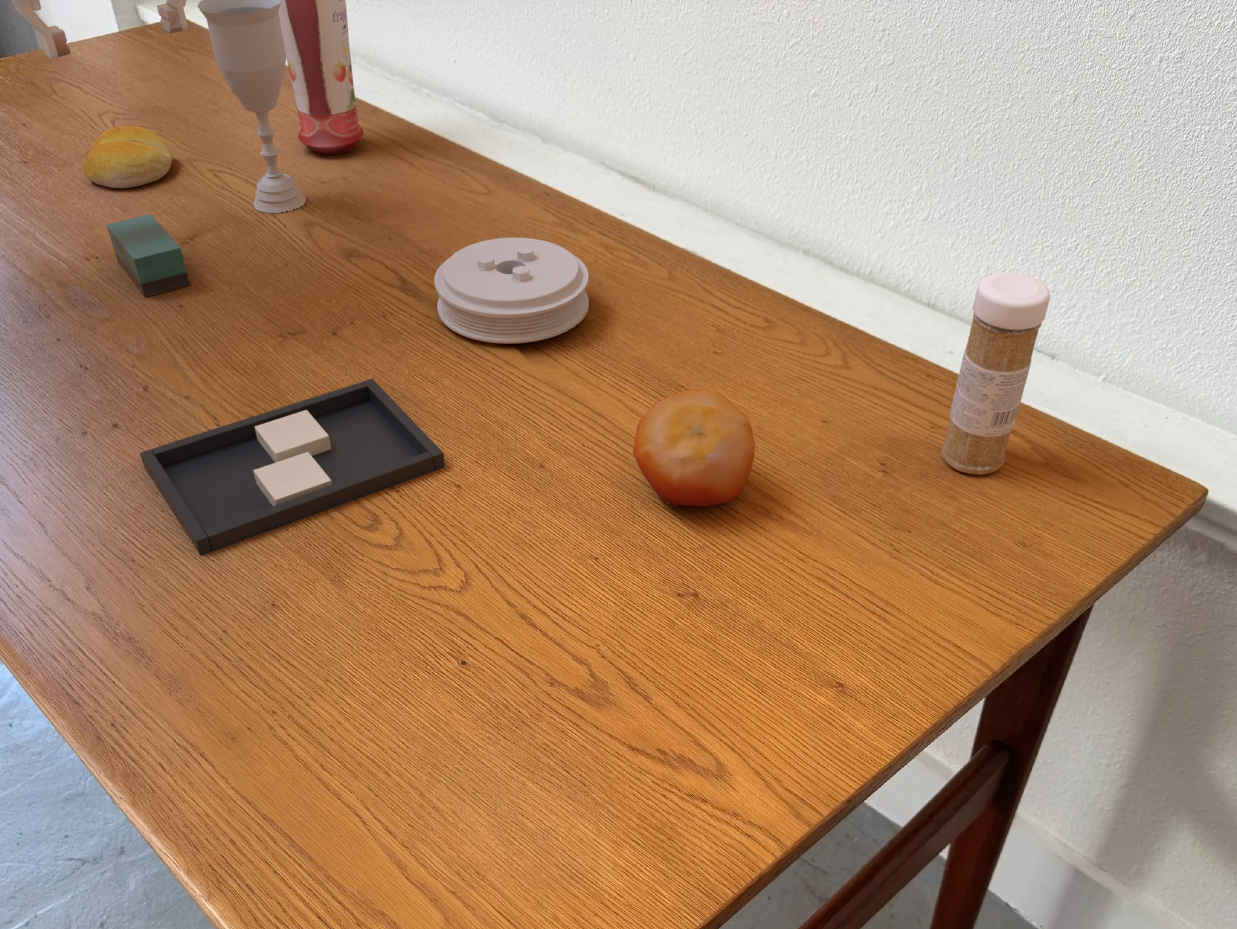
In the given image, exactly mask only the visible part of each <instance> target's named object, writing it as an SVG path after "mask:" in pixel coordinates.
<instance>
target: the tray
mask: <svg viewBox="0 0 1237 929" xmlns="http://www.w3.org/2000/svg"><path fill="white" fill-rule="evenodd" d="M304 410H307V411H308V412H309V413H310V414H311V415H312V417H313V418H314V419H315V420H316V421H317V422H318V424H319V425H320V426H321V427H322V428H323V430H324V431H325V432H326V433H327V434H328V435H329V439H330V444H331V450H328V451H325V452H322V453H319V454H316V455H313V456H312V457H313V458H314V460H315V461H316V462H317V463H318V465H319V466H320V467H321V468H322V470H323V471H324V472H325V473H326V474H327V476H328V477H329V478H330V479H331V481H332V486H329V487H326V488H323V489H320V490H318V491H315V492H312V493H309V494H306V495H303V496H301V497H298V498H295V499H292V500H289V501H287V502H284V503H281V504H278V505H275V506H272V504H271V503H270V502H269V500H268V499H267V498H266V496H265V495H264V493H263V492H262V491H261V489H260V488H259V487H258V485H257V484H256V480H255V476H254V472H253V470H256V469H258V468H261V467H264V466H267V465H270V464H273V463H275V462H274V461H273V459H272V458H271V457H270V455H269V454H268V453H267V452H266V450H265V449H264V448H263V446H262V445H261V444H260V442H259V441H258V439H257V435H256V431H255V426H258V425H261V424H264V423H267V422H270V421H273V420H277V419H280V418H283V417H286V416H289V415H292V414H295V413H298V412H301V411H304ZM139 455H140V458H141V461H142V464H143V467H144V469H145V471H146V472H147V474H148V476H149V477H150V478H151V480H152V482H153V483H154V485H155V486H156V488H157V490H158V491H159V493H160V495H161V496H162V498H163V499H164V501H165V502H166V504H167V505H168V507H169V509H170V510H171V512H172V513H173V515H174V517H175V518H176V520H177V522H178V523H179V524H180V526H181V528H182V529H183V531H184V532H185V534H186V536H187V537H188V539H189V541H190V542H191V543H192V545H193V547H194V548H195V550H196V551H197V553H198V555H199V556H200V557H202V556H205V555H207V554H211V553H214V552H216V551H219V550H222V549H225V548H226V547H230V546H232V545H235V544H239V543H241V542H244V541H247V540H249V539H252V538H254V537H257V536H259V535H263V534H265V533H269V532H271V531H274V530H277V529H280V528H282V527H285V526H288V525H290V524H294V523H295V522H299V521H302V520H305V519H307V518H310V517H313V516H315V515H318V514H321V513H324V512H327V511H329V510H332V509H334V508H337V507H340V506H343V505H345V504H348V503H352V502H353V501H356V500H359V499H363V498H365V497H367V496H370V495H373V494H377V493H378V492H382V491H385V490H387V489H390V488H392V487H395V486H398V485H401V484H403V483H407V482H409V481H412V480H414V479H415V480H416V479H418V478H421V477H423V476H426V475H428V474H431V473H435V472H436V471H439V470H442V469H445V468H446V464H445V456H444V452H443V451H442V450H441V449H440V448H439V447H438V445H437V444H436V443H435V442H434V441H433V440H432V439H431V438H430V437H429V436H428V435H427V434H426V433H425V432H424V431H423V430H422V429H421V428H420V427H419V426H418V424H417V423H416V422H415V421H414V420H413V419H411V417H410V416H409V415H408V414H407V413H406V412H405V411H404V410H403V409H402V407H400V406H399V405H398V404H397V403H396V402H395V401H394V400H393V398H392V397H391V396H390V395H389V394H388V393H386V391H385V390H384V389H383V388H382V386H380V385H379V384H378V383H377V382H376V381H375V380H374V379H373V378H369V379H366V380H363V381H360V382H357V383H354V384H351V385H347V386H344V387H342V388H338V389H335V390H332V391H328V392H325V393H322V394H319V395H316V396H313V397H309V398H307V399H304V400H301V401H298V402H297V401H296V402H294V403H291V404H288V405H285V406H281V407H279V408H276V409H272V410H268V411H266V412H263V413H258V414H256V415H253V416H250V417H246V418H244V419H240V420H237V421H233V422H232V423H228V424H225V425H222V426H218V427H215V428H213V429H209V430H206V431H204V432H200V433H196V434H194V435H190V436H187V437H183V438H181V439H178V440H175V441H172V442H168V443H165V444H162V445H159V446H156V447H153V448H151V449H147V450H143V451H140V453H139Z"/></svg>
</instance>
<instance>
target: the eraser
mask: <svg viewBox="0 0 1237 929" xmlns="http://www.w3.org/2000/svg"><path fill="white" fill-rule="evenodd" d="M106 228H107V233H108V235H109V238H110V242H111V244H112V249H113V252H114V254H115V258H116V262H117V263H118V264H119V266H120V267H121V269H123V271H124V273H126V275H127V276H128V278H130V280H131V281H132V282H133V284H134V285H135V286H136V288H137V289H138V290H139V292H140V293H141V294H142V295H143V297H144V298H147V297H148V298H149V297H151V296H155V295H160V294H163V293H167V292H171V291H175V290H178V289H181V288H186V287H189V286H191V282H190V279H189V274H188V271H187V267H186V263H185V259H184V256H183V253H182V248H181V247H180V246H179V244H178V243H177V242H176V240H174V238H173V237H172V236H171V235H170V234H169V233H168V232H167V230H166V229H165V228H164V226H162V224H161V223H159V221H158V220H157V219H156V218H155V217H154V216H153V214H151V213H149V214H146V215H141V216H137V217H133V218H128V219H125V220H120V221H116V222H112V223H107V224H106Z"/></svg>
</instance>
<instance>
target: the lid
mask: <svg viewBox="0 0 1237 929" xmlns="http://www.w3.org/2000/svg"><path fill="white" fill-rule="evenodd" d="M433 282H434V288H435V291H436V293H437V295H438V296H439V297H438V299H437V303H436V304H437V305H436V309H437V310H436V311H437V314H438V315H437V316H438V317H439V319H440V321H441V322H442V323H443V325H445V326H446V327H447V328H449V330H451V331H453V332H455V333H457V334H459V335H461V336H464V337H466V338H468V339H472V340H476V341H481V342H486V343H492V344H493V343H494V344H525V343H531V342H532V343H533V342H539V341H542V340H546V339H550V338H553V337H556V336H559V335H561V334H563V333H566V332H568V331H569V330H571V329H573V328H575V327H576V326H577V325H578V324H580V323H581V322H582V321H583V320H584V318H585V317H586V315H587V313H588V311H589V307H590V304H589V303H590V300H589V296H588V293H587V292H586V289H587V287H588V284H589V270H588V269H587V266H586V264H585V263H584V261H583V260H581V259H580V258H579V257H577V256H576V255H574V254H573V253H571V252H570V251H569V250H567V249H566V248H564V247H562V246H560V245H559V244H556V243H553V242H550V241H546V240H542V239H537V238H529V237H499V238H494V239H493V238H491V239H485V240H483V241H478V242H475V243H472V244H470V245H467V246H465V247H463V248H460V249H459V250H457V251H455V252H454V253H453V254H452V255H451V256H450V257H449V258H447V259H446V260H445V261H444V262H442V263H441V265H440V266H438V268H437V270H436V272H435V275H434V278H433Z"/></svg>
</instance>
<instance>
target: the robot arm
mask: <svg viewBox="0 0 1237 929" xmlns="http://www.w3.org/2000/svg"><path fill="white" fill-rule="evenodd" d="M0 1H2V0H0ZM11 3H12V4H11V5H12V7H13V8H14V9H15V10H16V11H17V12H18V13H19V15H20V16H22V18H24V20H25V21H26V22H27V23H28V24H29V25H30V26H31V27H32V28H33V29H34V30H35V31H37V34H38V39H39V41H40V45H41V48H42V50H43V52H44V54H45V55H46V56H47V57H48V58H49V59H51V60H53V59H57V58H61V57H65V56H66V57H67V56H69V55H71V49H70V46H69V45H68V44H67V43H68V40H67V36H66V33H65V30H63V29H62V28H60V27H59V26H57V25H50V26H48V25H47V24H46V23H45V21H44V20H43V19H42V18H41V17H40V16H39V15H38V14H37V13H36V12H37V11H41V10H42V6H41V2H40V0H11ZM186 5H187V0H166V1H165V3H162V4H158V5H156V9H157V13H158V15H159V16H160V20H159V21H160V24H161V27H162V29H163V31H165V32H167V33H168V34H176V33H180V32H186V31H188V29H189V26H188V22H187V17H186V13H185V7H186Z"/></svg>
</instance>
